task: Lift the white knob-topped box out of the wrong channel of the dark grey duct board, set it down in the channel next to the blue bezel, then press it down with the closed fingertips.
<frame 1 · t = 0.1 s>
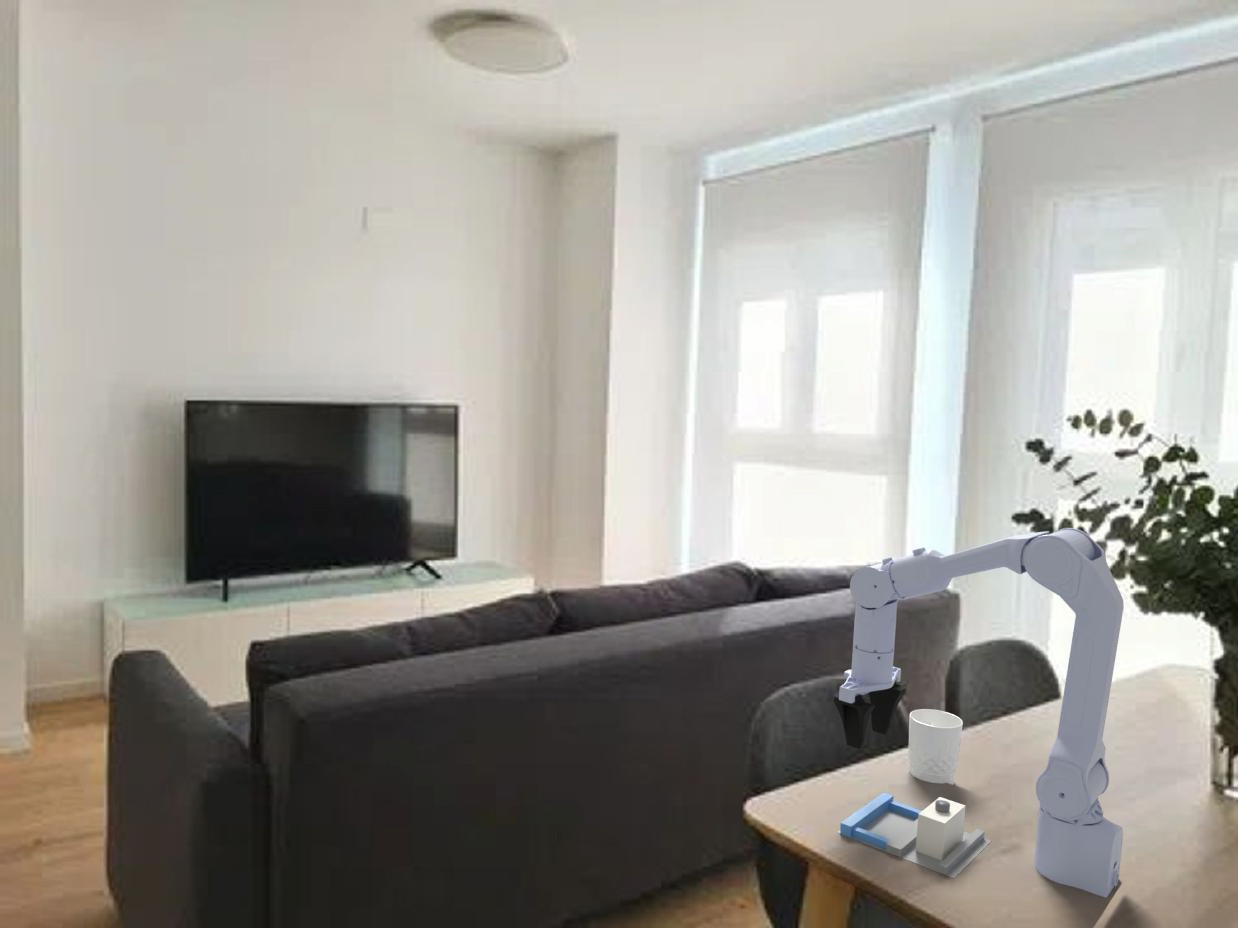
hand: (867, 738, 134), 10 cm above the table, fingers open, 7 cm apart
duct board: (913, 843, 124), on the table
white cup: (931, 780, 145), on the table
white knob-topped box: (939, 845, 122), point 1 cm above the table, touching duct board
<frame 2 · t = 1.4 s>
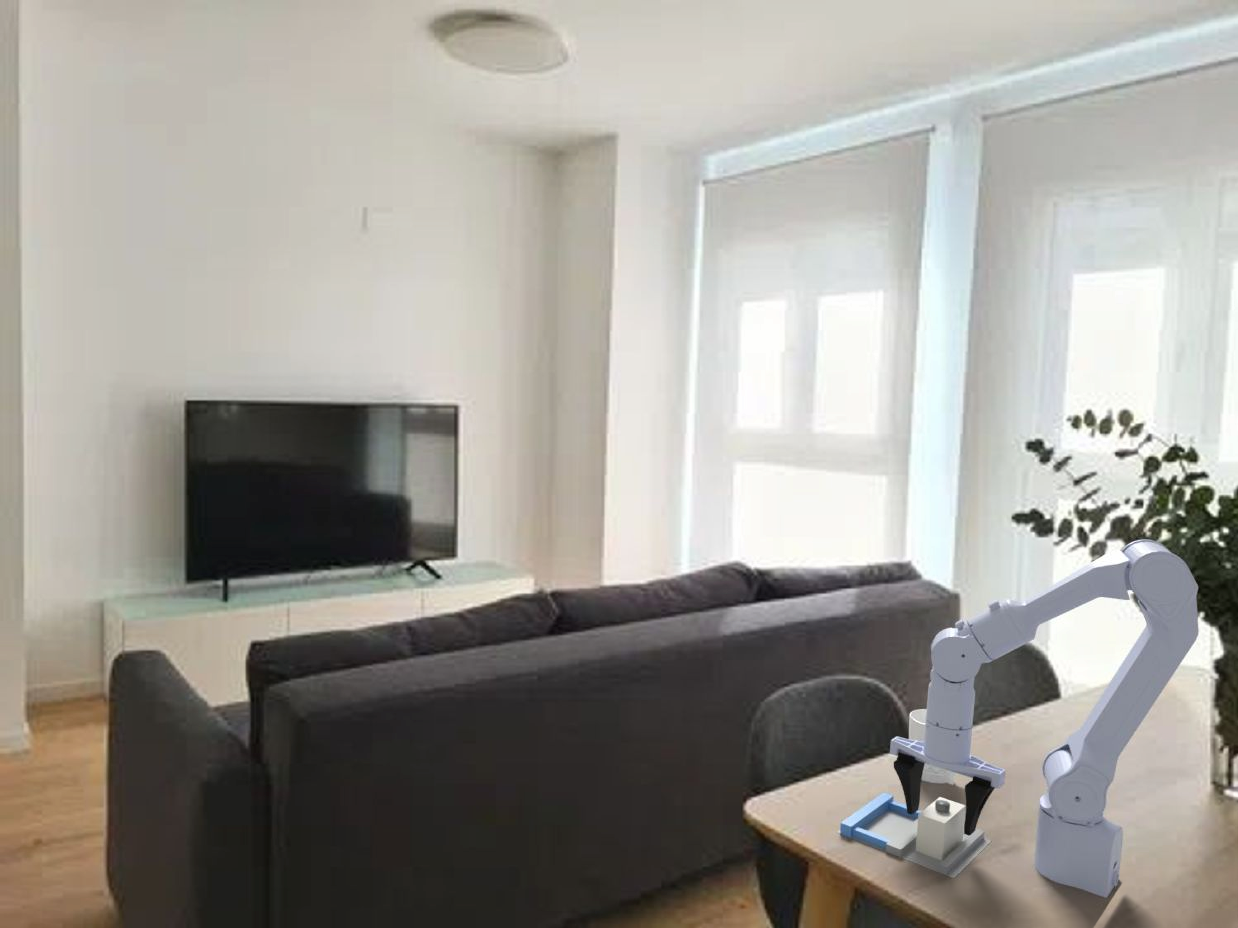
hand: (940, 821, 122), 4 cm above the table, fingers open, 7 cm apart
nothing on the table moved.
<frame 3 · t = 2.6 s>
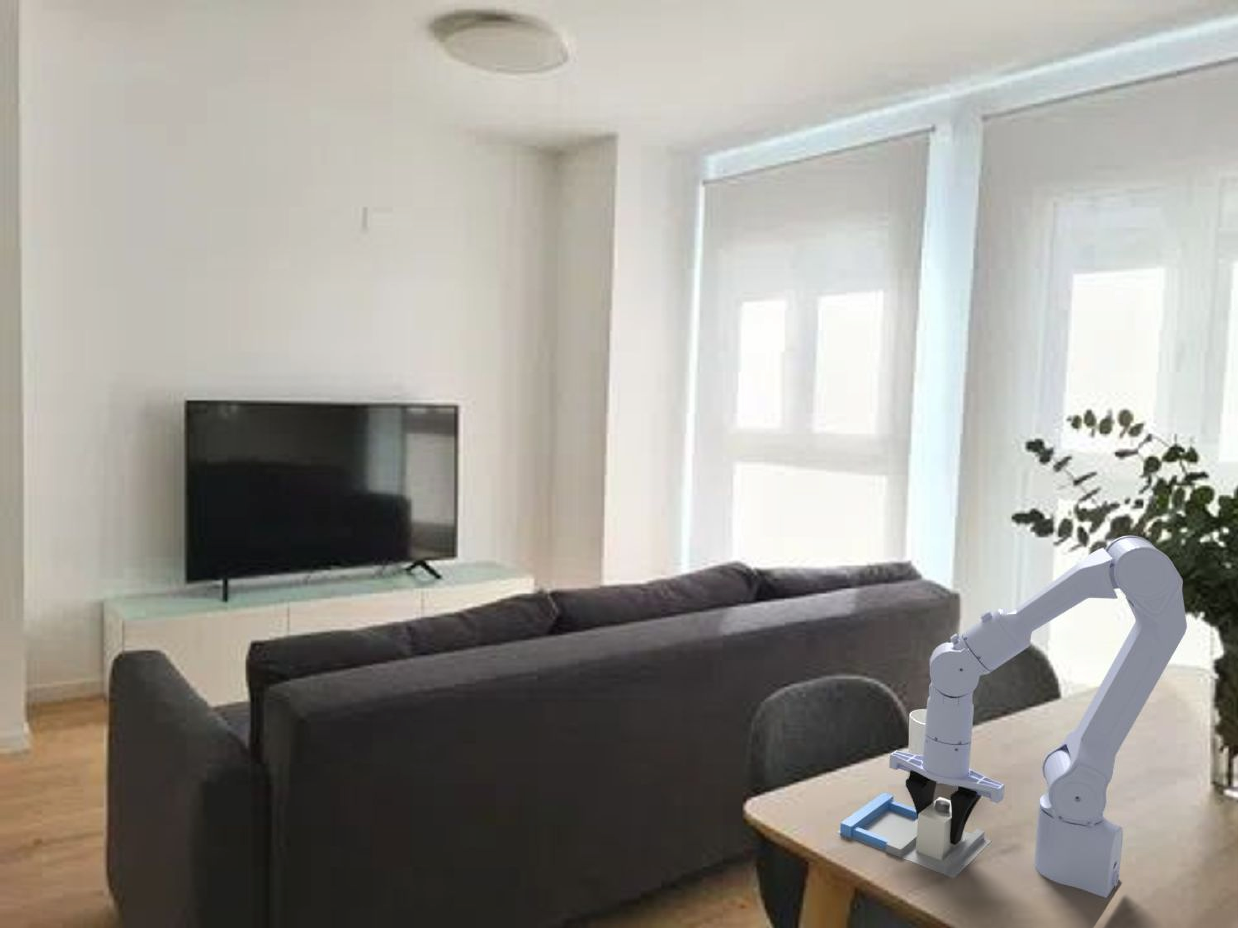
hand: (940, 835, 122), 2 cm above the table, fingers closed on white knob-topped box, 3 cm apart
white knob-topped box: (939, 845, 122), point 1 cm above the table, touching duct board, gripper
everything else where it was.
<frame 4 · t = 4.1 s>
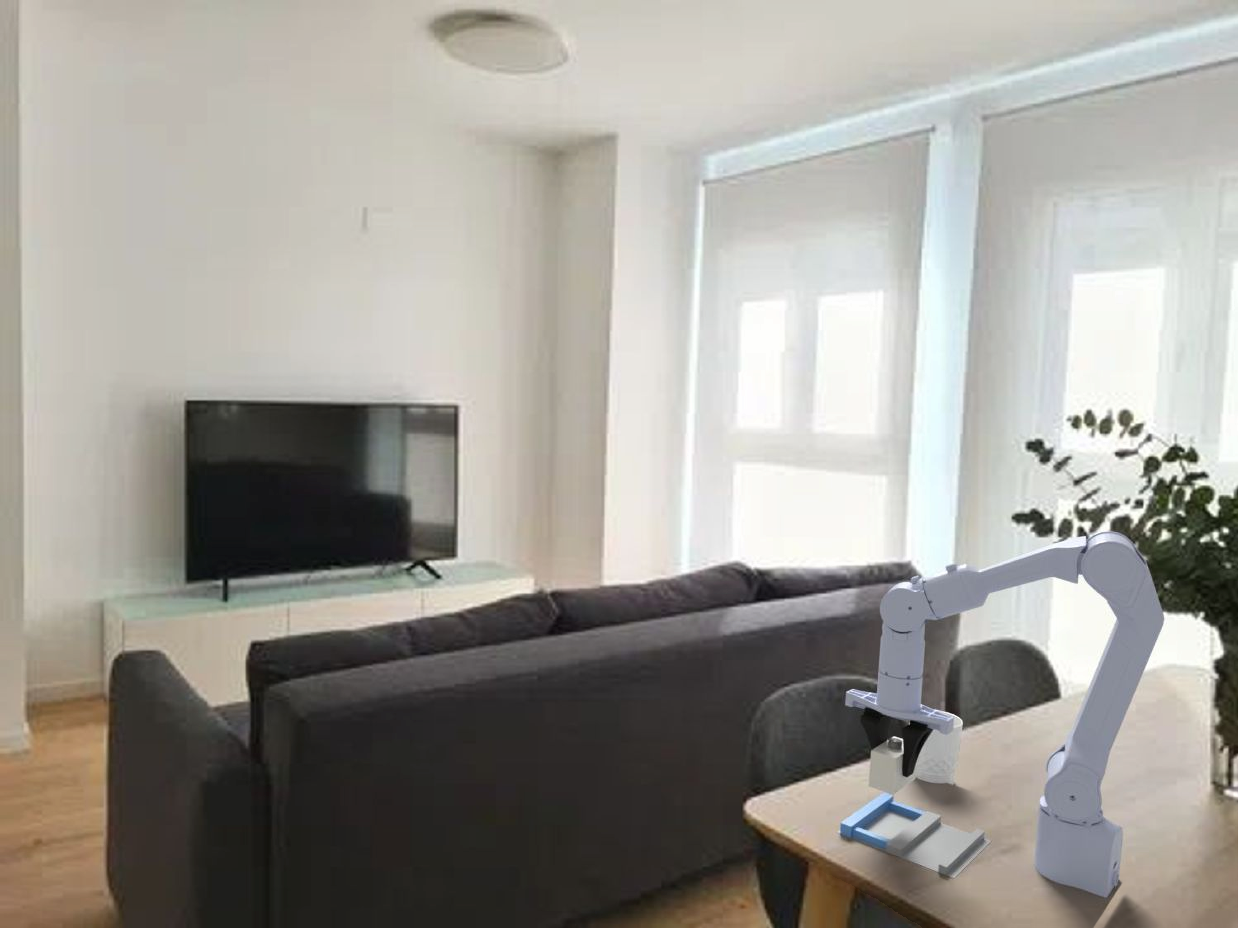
hand: (893, 769, 126), 9 cm above the table, fingers closed on white knob-topped box, 3 cm apart
white knob-topped box: (892, 782, 126), point 7 cm above the table, touching gripper
everything else where it was.
when the fingers open (4 cm above the table, at t = 5.8 s): white knob-topped box drops 1 cm, resting on duct board.
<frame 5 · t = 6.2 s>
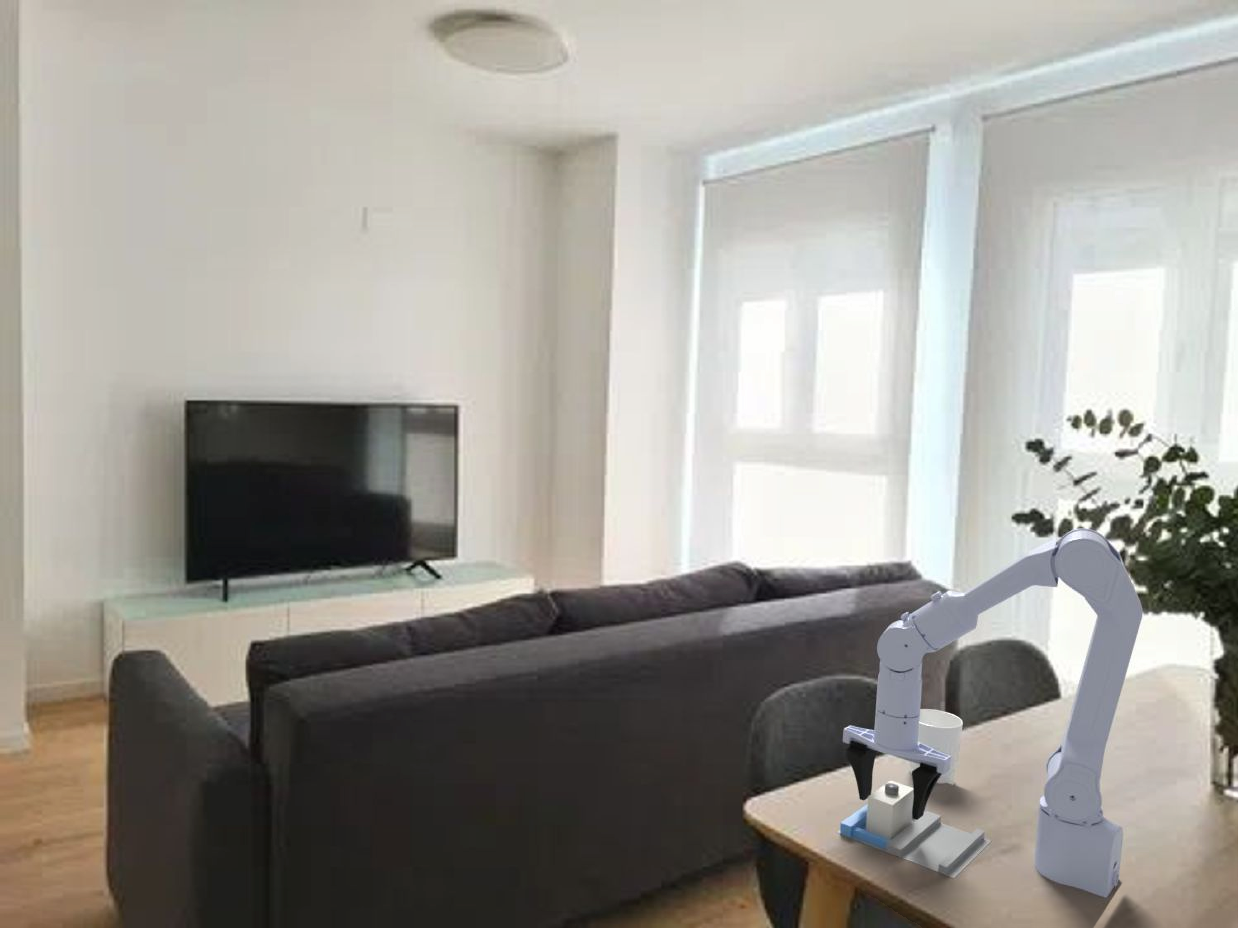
hand: (890, 806, 126), 4 cm above the table, fingers open, 7 cm apart
white knob-topped box: (889, 827, 127), point 1 cm above the table, touching duct board
everything else where it was.
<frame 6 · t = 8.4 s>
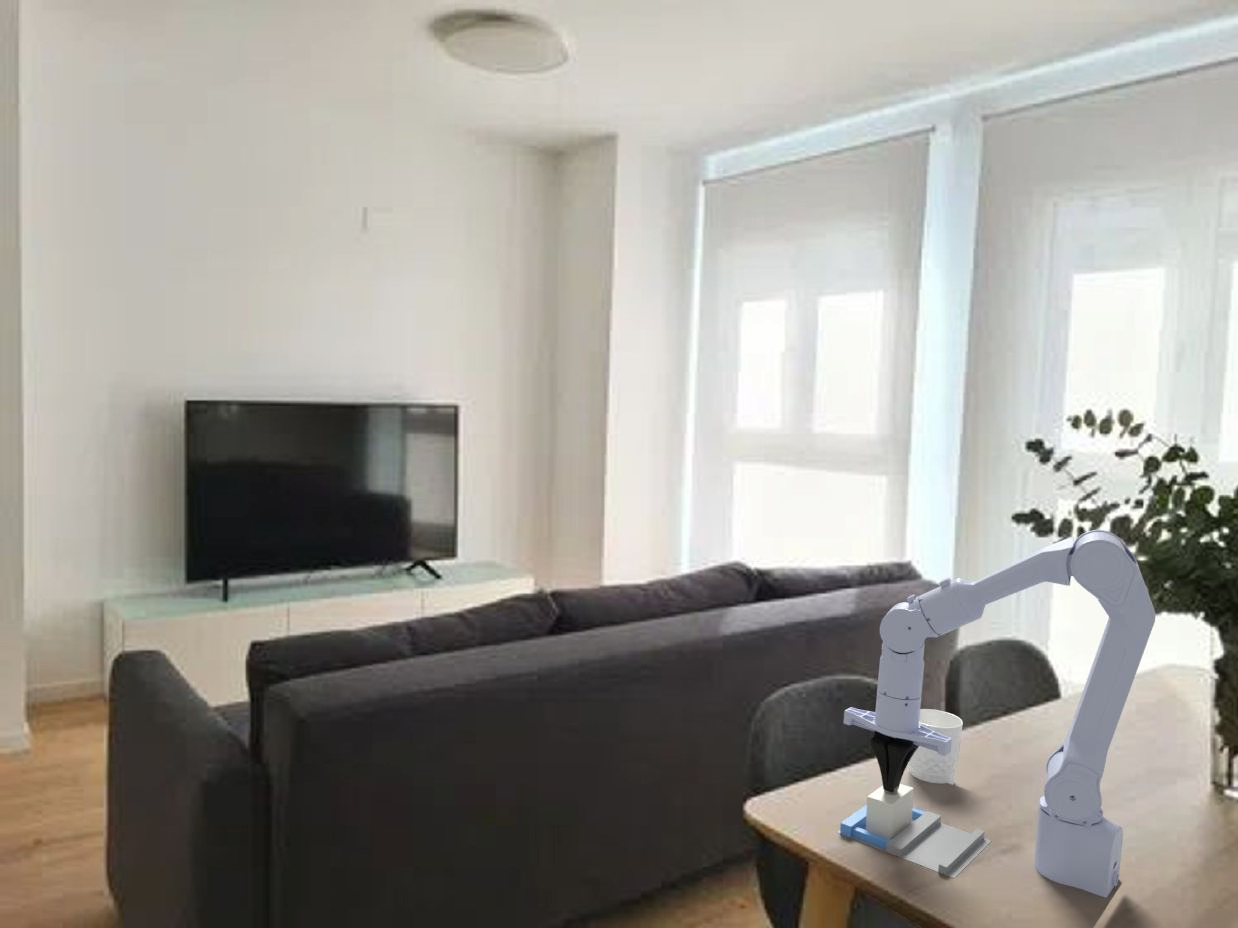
hand: (890, 788, 126), 6 cm above the table, fingers closed, pressing on white knob-topped box
white knob-topped box: (889, 827, 127), point 1 cm above the table, touching duct board, gripper
everything else where it was.
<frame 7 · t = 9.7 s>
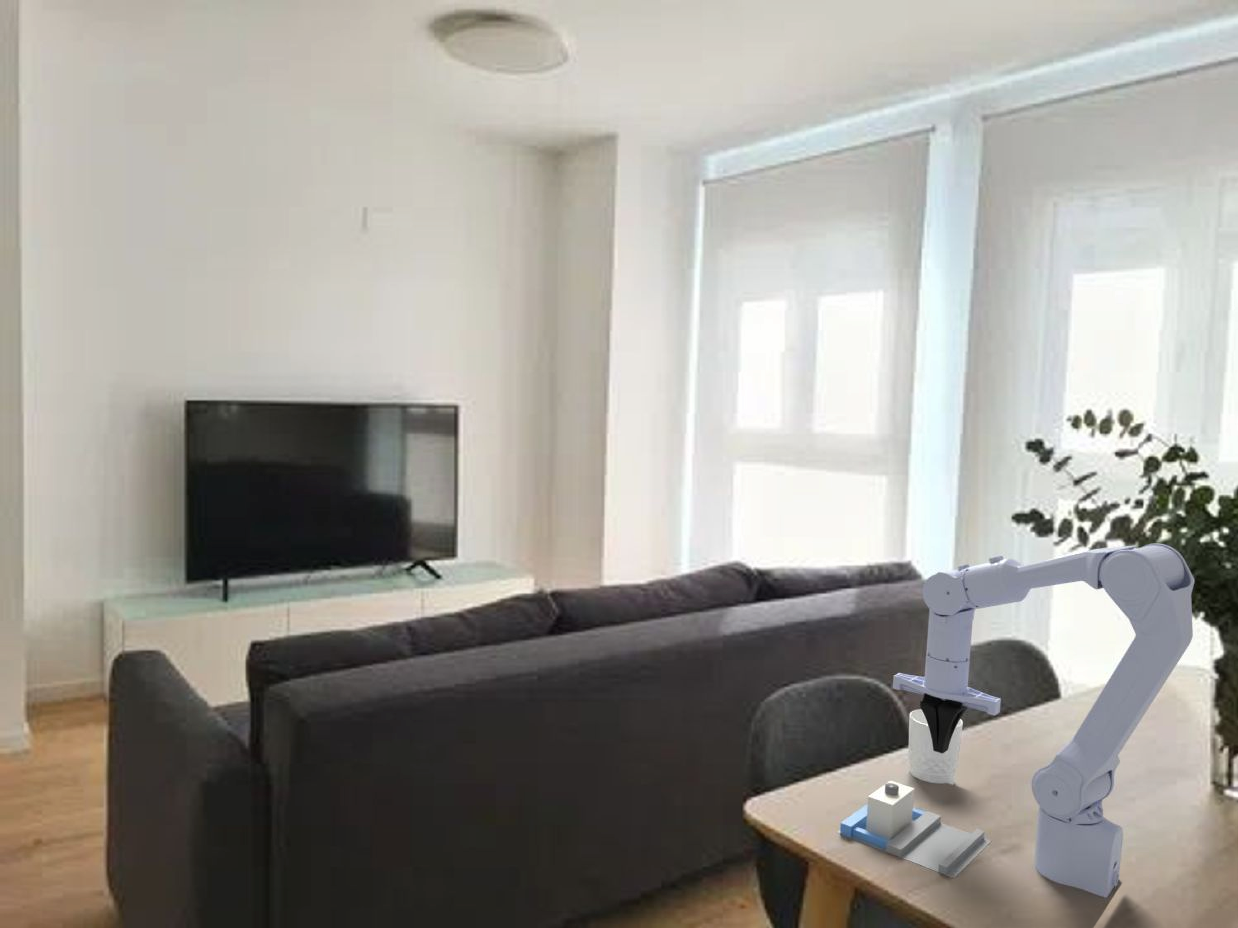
hand: (940, 750, 130), 10 cm above the table, fingers closed
white knob-topped box: (889, 827, 127), point 1 cm above the table, touching duct board
everything else where it was.
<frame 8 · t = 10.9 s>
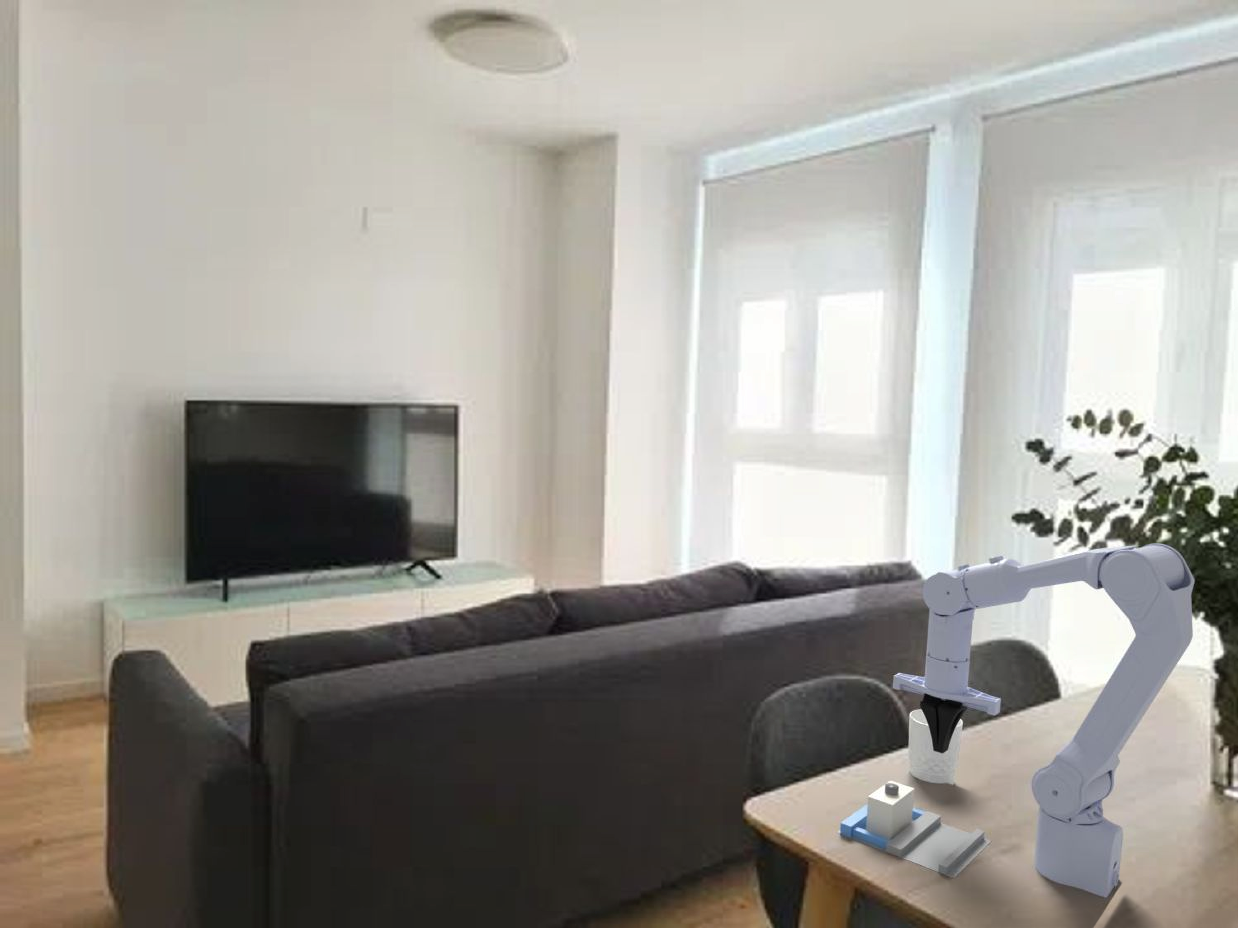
hand: (940, 750, 130), 10 cm above the table, fingers closed
nothing on the table moved.
at the end: white knob-topped box 0.1 cm from the target spot on the duct board, point 1.0 cm above the duct board's base; white knob-topped box tilted 0°; the gripper is holding nothing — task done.
